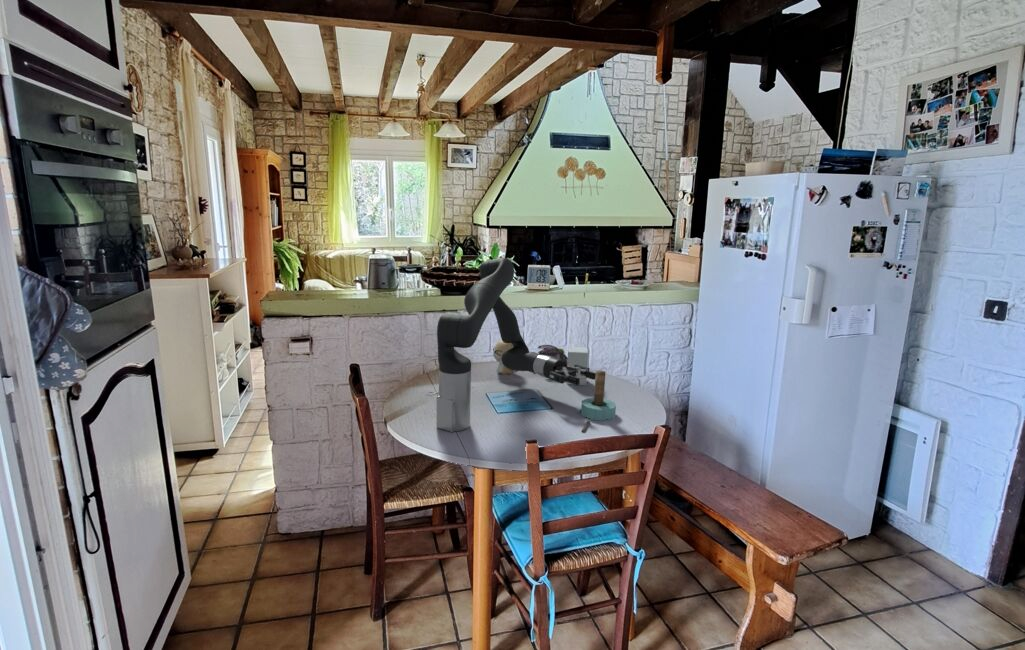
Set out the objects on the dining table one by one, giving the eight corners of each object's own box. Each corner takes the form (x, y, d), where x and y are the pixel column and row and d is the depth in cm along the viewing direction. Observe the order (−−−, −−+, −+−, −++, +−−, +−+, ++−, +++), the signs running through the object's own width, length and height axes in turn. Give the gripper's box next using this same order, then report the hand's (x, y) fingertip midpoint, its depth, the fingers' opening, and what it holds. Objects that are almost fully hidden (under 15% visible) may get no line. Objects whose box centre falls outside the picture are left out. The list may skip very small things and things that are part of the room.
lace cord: (584, 432, 163) (584, 430, 163) (581, 431, 164) (581, 429, 163) (589, 422, 171) (590, 420, 170) (587, 422, 171) (587, 420, 171)
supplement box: (585, 379, 212) (587, 347, 209) (586, 385, 205) (588, 352, 202) (566, 378, 213) (568, 346, 210) (566, 384, 205) (568, 351, 203)
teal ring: (605, 423, 171) (606, 412, 170) (575, 414, 177) (576, 404, 176) (620, 413, 179) (620, 402, 178) (590, 405, 185) (591, 395, 184)
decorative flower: (570, 355, 209) (536, 338, 215) (556, 383, 210) (524, 365, 216) (581, 356, 222) (550, 340, 228) (569, 383, 223) (538, 366, 229)
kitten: (489, 367, 224) (490, 330, 220) (514, 366, 225) (515, 330, 222) (495, 378, 209) (496, 340, 206) (521, 378, 211) (523, 339, 208)
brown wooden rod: (599, 416, 176) (602, 373, 173) (591, 414, 177) (594, 372, 174) (604, 413, 178) (607, 371, 175) (595, 411, 180) (598, 369, 177)
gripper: (535, 360, 184) (574, 372, 173) (563, 353, 194) (601, 364, 183) (534, 382, 186) (572, 395, 175) (562, 374, 196) (600, 385, 185)
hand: (587, 379), depth 179 cm, fingers open, 8 cm apart
